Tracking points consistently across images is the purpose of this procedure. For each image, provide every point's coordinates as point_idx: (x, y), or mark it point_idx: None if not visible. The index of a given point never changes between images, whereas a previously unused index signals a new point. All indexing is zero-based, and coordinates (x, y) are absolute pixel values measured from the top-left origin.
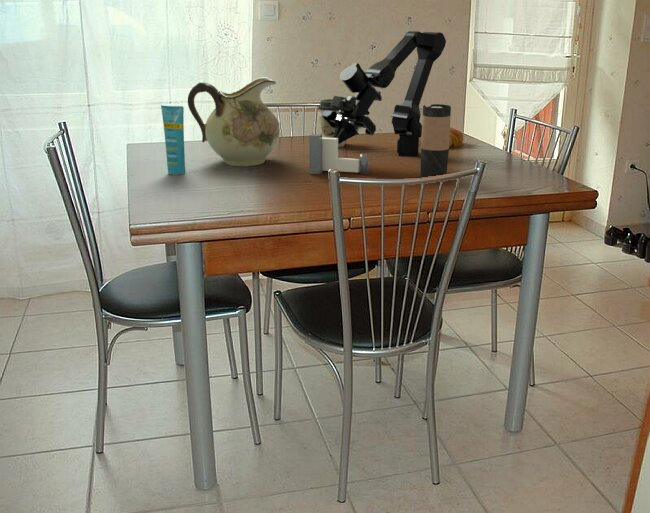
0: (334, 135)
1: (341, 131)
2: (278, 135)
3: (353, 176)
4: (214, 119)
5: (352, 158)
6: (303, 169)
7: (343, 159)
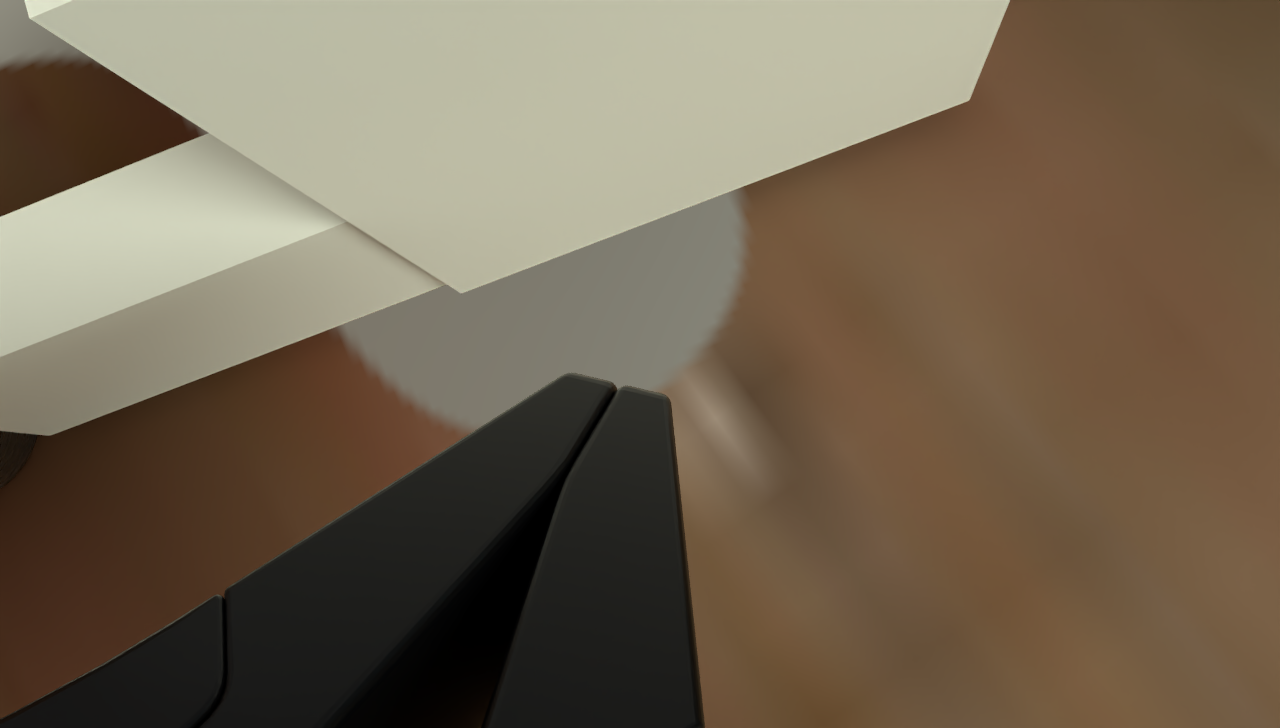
0: (637, 619)
1: (112, 718)
2: None
3: (22, 125)
4: None
5: (14, 352)
6: (1150, 4)
7: (161, 159)
